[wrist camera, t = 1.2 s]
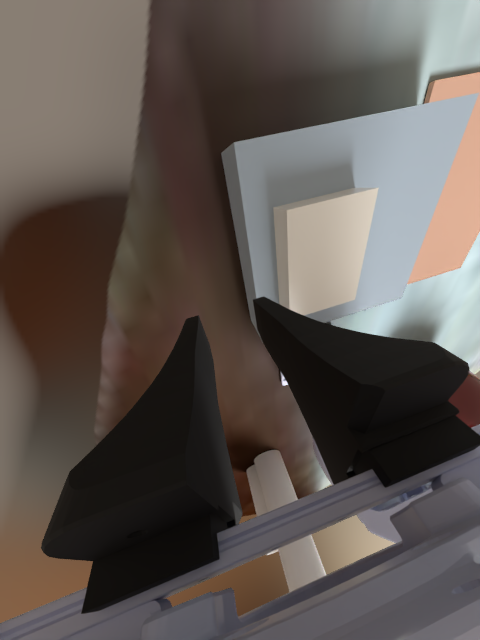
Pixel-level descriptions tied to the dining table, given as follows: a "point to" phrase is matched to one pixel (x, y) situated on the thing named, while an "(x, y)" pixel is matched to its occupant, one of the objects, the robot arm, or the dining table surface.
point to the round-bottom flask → (468, 400)
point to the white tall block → (275, 492)
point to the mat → (454, 190)
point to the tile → (322, 248)
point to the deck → (341, 174)
